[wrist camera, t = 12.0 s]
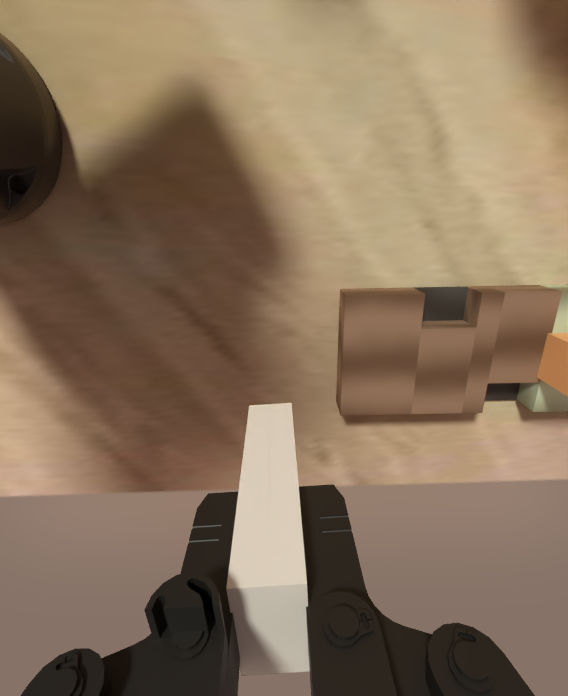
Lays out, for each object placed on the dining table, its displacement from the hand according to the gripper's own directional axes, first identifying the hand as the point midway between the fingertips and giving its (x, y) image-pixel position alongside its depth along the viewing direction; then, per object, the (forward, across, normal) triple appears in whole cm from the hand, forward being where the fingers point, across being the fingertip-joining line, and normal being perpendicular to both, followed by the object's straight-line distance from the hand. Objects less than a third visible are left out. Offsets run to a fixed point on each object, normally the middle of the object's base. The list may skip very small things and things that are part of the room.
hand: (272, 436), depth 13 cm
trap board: (+22, +19, -6) cm, 30 cm away
